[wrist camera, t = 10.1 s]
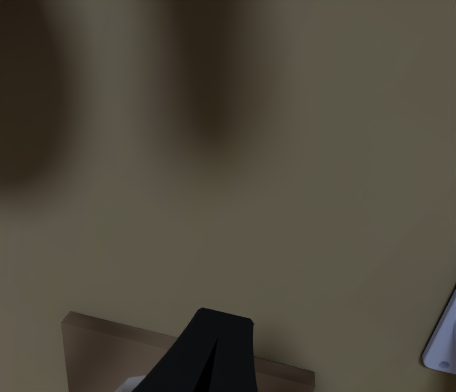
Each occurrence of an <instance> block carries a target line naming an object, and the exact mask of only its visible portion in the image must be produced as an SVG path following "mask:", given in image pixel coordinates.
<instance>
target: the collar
mask: <svg viewBox="0 0 456 392" xmlns="http://www.w3.org/2000/svg"><path fill="white" fill-rule="evenodd" d="M61 325H62V334H63V343H64V352H65V361H66V370H67V379H68V388H69V392H131V391H132V390H133V389H134V388H135V387H136V386H137V385H138V384H139V383H140V382H141V381H142V380H143V379H144V378H145V377H146V376H147V374H148V373H149V372H150V371H151V370H152V369H153V368H154V366H155V365H156V364H157V363H158V362H159V361H160V359H161V358H162V357H163V356H164V355H165V354H166V352H167V351H168V350H169V349H170V348H171V346H172V345H173V344H174V343H175V341H176V340H177V339H178V338H175V337H171V336H167V335H163V334H159V333H155V332H151V331H147V330H143V329H139V328H135V327H131V326H127V325H123V324H119V323H114V322H110V321H106V320H102V319H98V318H94V317H90V316H86V315H82V314H78V313H74V312H70V313H69V314H68V315H67V316H66V317H65V319H64V320H63V321H62V322H61ZM254 365H255V374H256V382H257V389H258V392H313V391H314V388H315V374H314V372H312V371H308V370H304V369H300V368H295V367H291V366H287V365H283V364H279V363H275V362H271V361H267V360H263V359H259V358H255V357H254Z"/></svg>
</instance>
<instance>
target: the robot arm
mask: <svg viewBox="0 0 456 392" xmlns="http://www.w3.org/2000/svg"><path fill="white" fill-rule="evenodd" d="M253 326H254V323H253V322H252V320H251V319H249V318H245V317H241V316H237V315H232V314H228V313H224V312H220V311H215V310H211V309H207V308H201V309H199V310H197V312H196V314H195V315H194V317H193V318H192V320H191V321H190V323H189V324H188V326H187V327H186V328H185V330H184V331H183V332H182V334H181V335H180V336H179V338H178V339H177V340H176V341H175V343H174V344H173V345H172V346H171V348H170V349H169V350H168V351H167V352H166V354H165V355H164V356H163V357H162V358H161V359H160V361H159V362H158V363H157V364H156V365H155V366H154V368H153V369H152V370H151V371H150V372H149V373H148V374H147V376H146V377H145V378H144V379H143V380H142V381H141V382H140V383H139V384H138V385H137V386H136V387H135V388H134V389H133V390H132V391H131V392H258V389H257V382H256V374H255V365H254V354H253ZM422 359H423V362H424V365H425V366H426V367H428V368H431V369H435V370H439V371H443V372H448V373H452V374H456V290H455V292H454V293H453V295H452V297H451V299H450V301H449V303H448V305H447V307H446V309H445V311H444V313H443V315H442V317H441V319H440V321H439V323H438V325H437V327H436V329H435V331H434V333H433V335H432V337H431V339H430V341H429V343H428V345H427V347H426V349H425V351H424V353H423V355H422ZM443 361H445V362H443ZM442 362H443V363H442Z"/></svg>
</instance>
